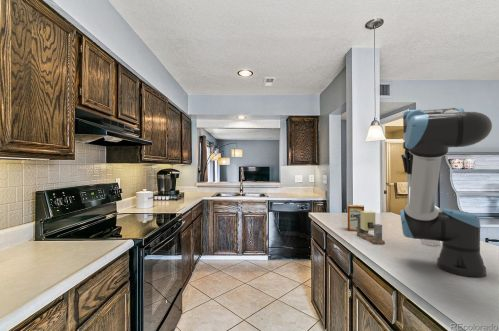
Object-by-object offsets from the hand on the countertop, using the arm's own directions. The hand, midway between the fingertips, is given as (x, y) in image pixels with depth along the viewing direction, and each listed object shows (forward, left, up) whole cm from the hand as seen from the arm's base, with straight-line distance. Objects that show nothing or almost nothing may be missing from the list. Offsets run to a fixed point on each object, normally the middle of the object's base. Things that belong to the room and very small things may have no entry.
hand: (411, 186), depth 133 cm
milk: (+2, -12, -31) cm, 33 cm away
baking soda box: (+33, +13, -31) cm, 47 cm away
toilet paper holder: (+13, +15, -30) cm, 36 cm away
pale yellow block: (+15, +15, -25) cm, 33 cm away
